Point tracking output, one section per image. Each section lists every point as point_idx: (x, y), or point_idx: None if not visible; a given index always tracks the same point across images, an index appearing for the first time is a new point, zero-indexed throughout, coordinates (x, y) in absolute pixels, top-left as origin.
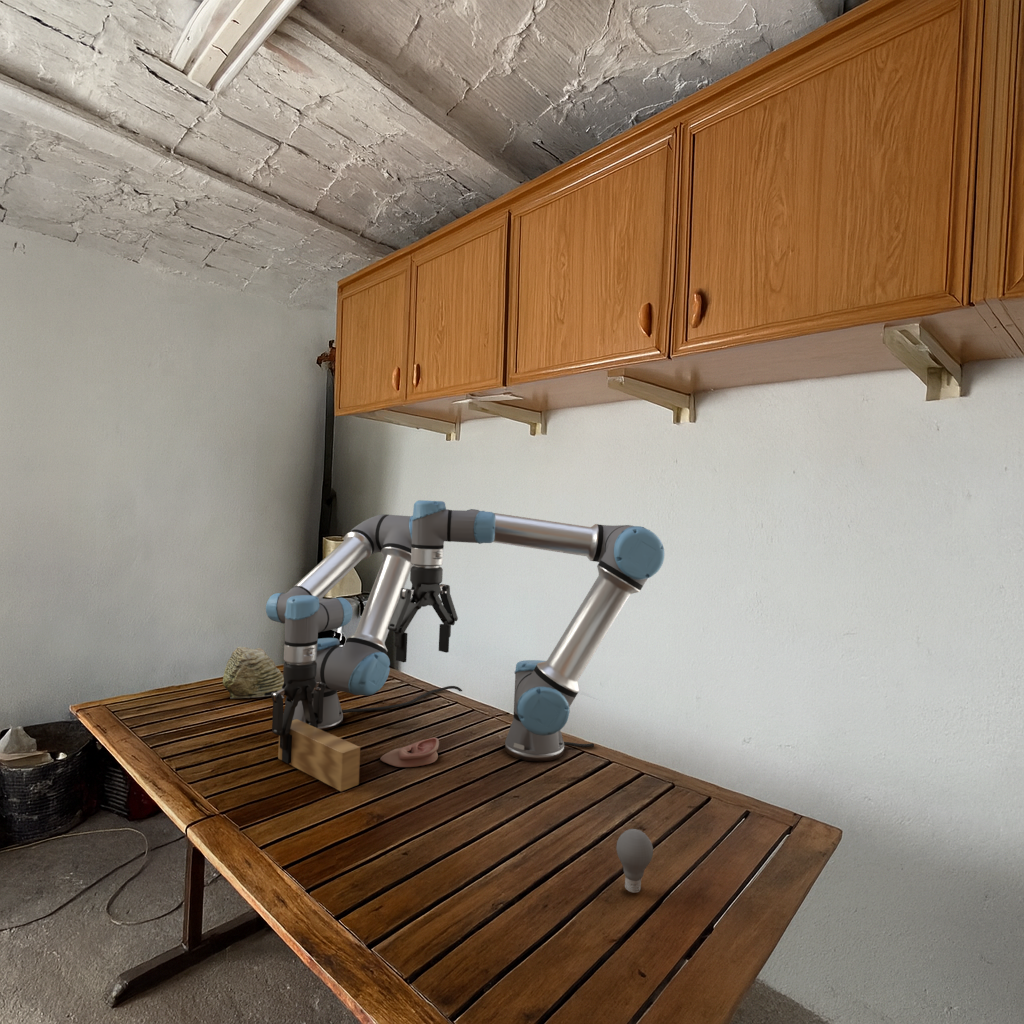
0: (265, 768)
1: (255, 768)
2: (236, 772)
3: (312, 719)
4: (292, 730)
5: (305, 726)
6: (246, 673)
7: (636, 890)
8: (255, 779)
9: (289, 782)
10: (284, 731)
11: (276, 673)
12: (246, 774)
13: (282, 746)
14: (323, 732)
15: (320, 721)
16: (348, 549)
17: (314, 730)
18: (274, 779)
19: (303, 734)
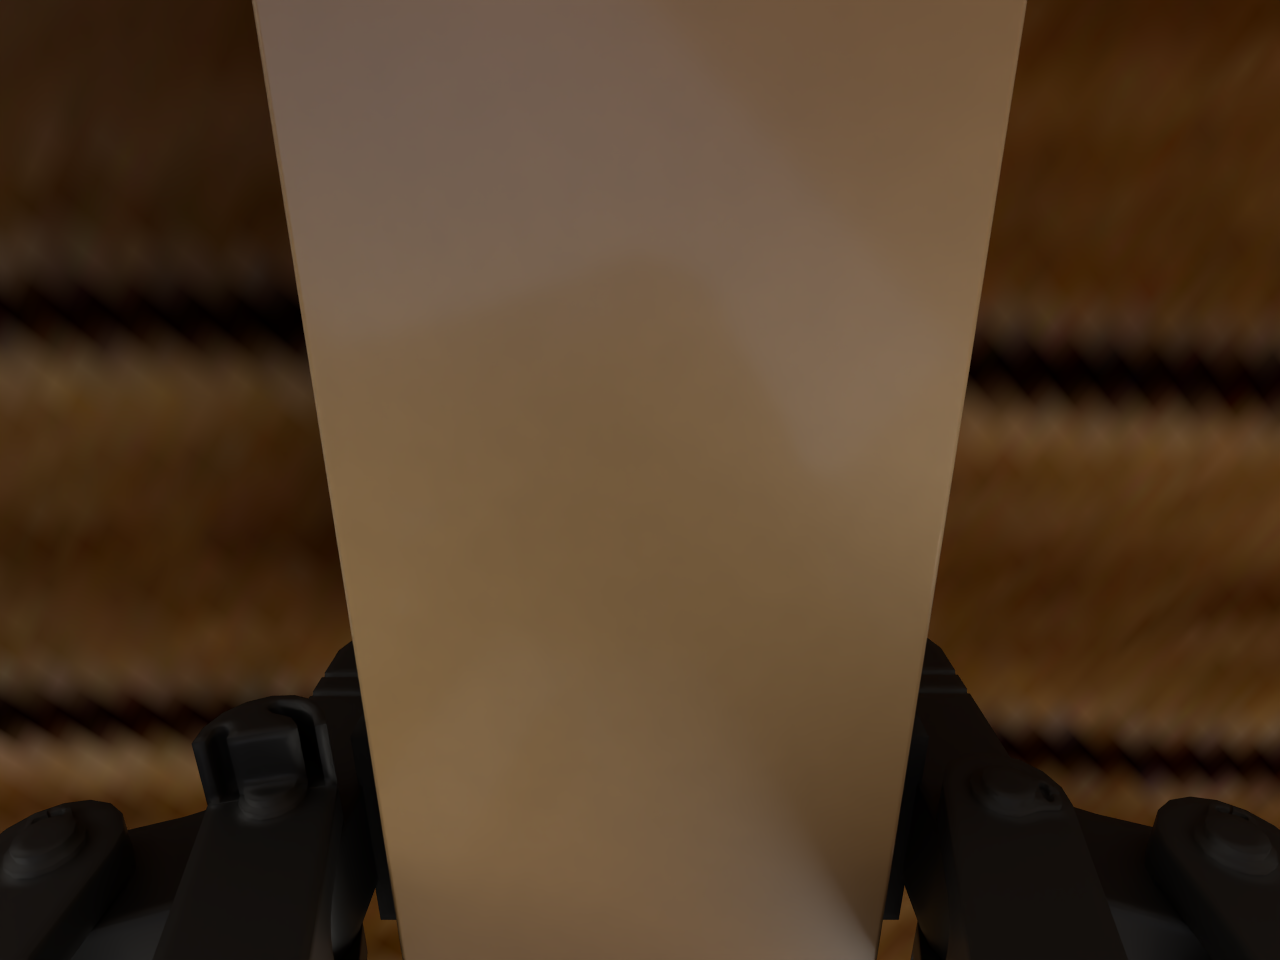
0: (994, 607)
1: (1056, 673)
2: (1231, 713)
3: (244, 954)
4: (892, 816)
5: (528, 813)
6: None
7: None
8: (1266, 439)
9: (1113, 42)
10: (1080, 864)
11: None
12: (1216, 612)
13: (947, 671)
14: (357, 30)
15: (52, 839)
16: None
17: (502, 423)
18: (1150, 279)
19: (943, 374)
